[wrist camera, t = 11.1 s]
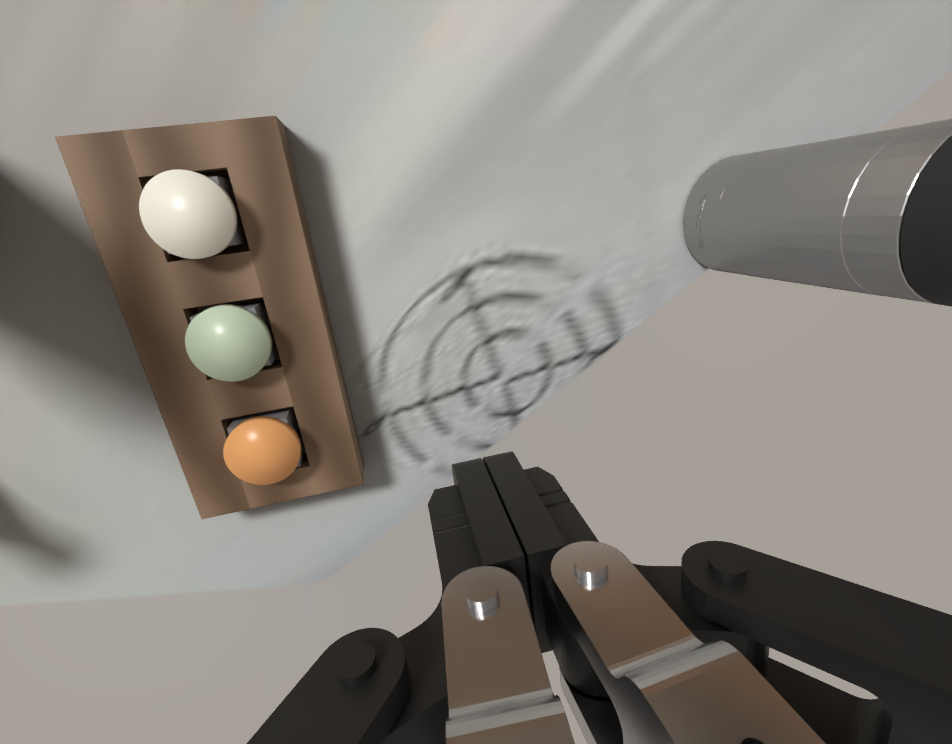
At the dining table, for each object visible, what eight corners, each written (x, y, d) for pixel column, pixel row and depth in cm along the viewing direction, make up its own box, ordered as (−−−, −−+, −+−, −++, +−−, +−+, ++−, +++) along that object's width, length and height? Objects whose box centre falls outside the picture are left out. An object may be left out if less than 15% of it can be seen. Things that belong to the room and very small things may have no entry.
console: (284, 124, 31) (275, 115, 28) (363, 465, 40) (363, 484, 37) (85, 144, 29) (54, 136, 26) (214, 497, 38) (201, 519, 35)
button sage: (269, 291, 33) (257, 300, 30) (287, 358, 35) (278, 374, 32) (195, 303, 33) (173, 313, 29) (217, 370, 34) (199, 388, 31)
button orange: (298, 395, 36) (289, 414, 33) (313, 452, 38) (307, 476, 34) (229, 407, 35) (213, 428, 32) (248, 465, 37) (235, 491, 33)
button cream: (236, 170, 31) (219, 164, 27) (258, 248, 32) (244, 252, 29) (154, 179, 30) (125, 174, 26) (180, 259, 32) (156, 264, 28)
